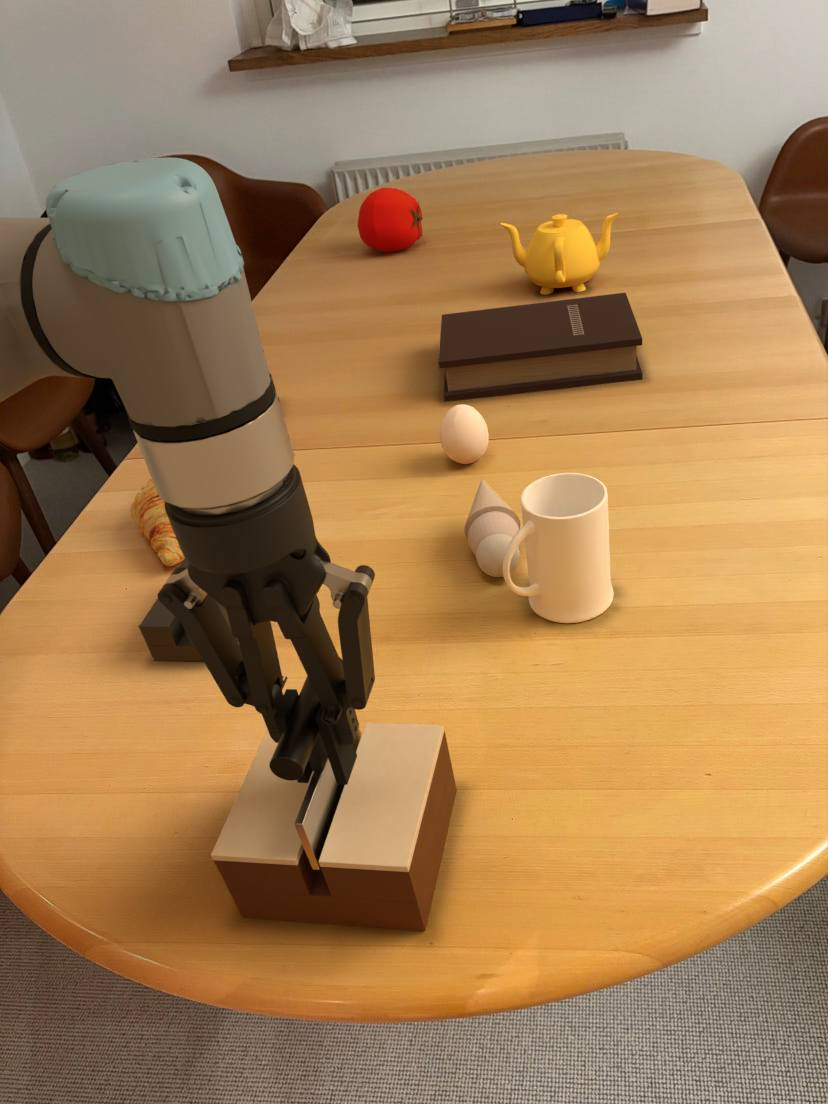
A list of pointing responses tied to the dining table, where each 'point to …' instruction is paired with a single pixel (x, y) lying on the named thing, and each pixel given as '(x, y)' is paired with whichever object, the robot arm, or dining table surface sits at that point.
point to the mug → (565, 547)
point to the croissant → (156, 524)
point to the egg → (464, 434)
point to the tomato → (390, 220)
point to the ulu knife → (291, 762)
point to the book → (539, 347)
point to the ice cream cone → (491, 531)
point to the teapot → (561, 253)
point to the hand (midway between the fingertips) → (327, 768)
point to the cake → (346, 836)
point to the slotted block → (170, 633)
